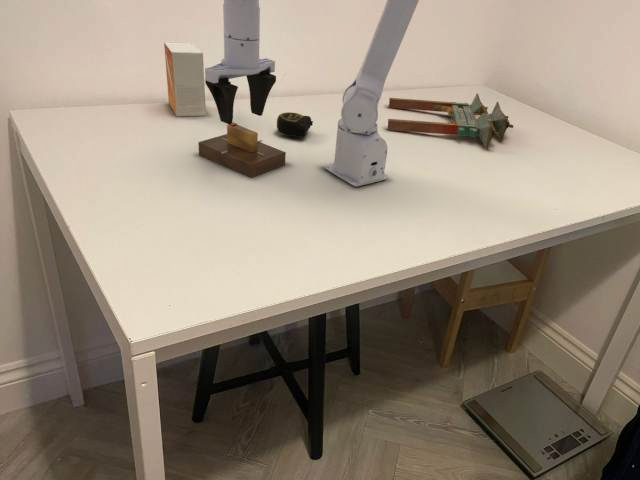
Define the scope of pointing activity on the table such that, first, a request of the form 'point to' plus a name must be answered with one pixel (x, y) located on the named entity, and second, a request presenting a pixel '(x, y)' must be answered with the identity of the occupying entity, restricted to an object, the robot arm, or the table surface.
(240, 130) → the thumb turn
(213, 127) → the table surface
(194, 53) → the small box
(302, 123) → the tape measure
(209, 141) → the plate
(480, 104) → the miniature gate
